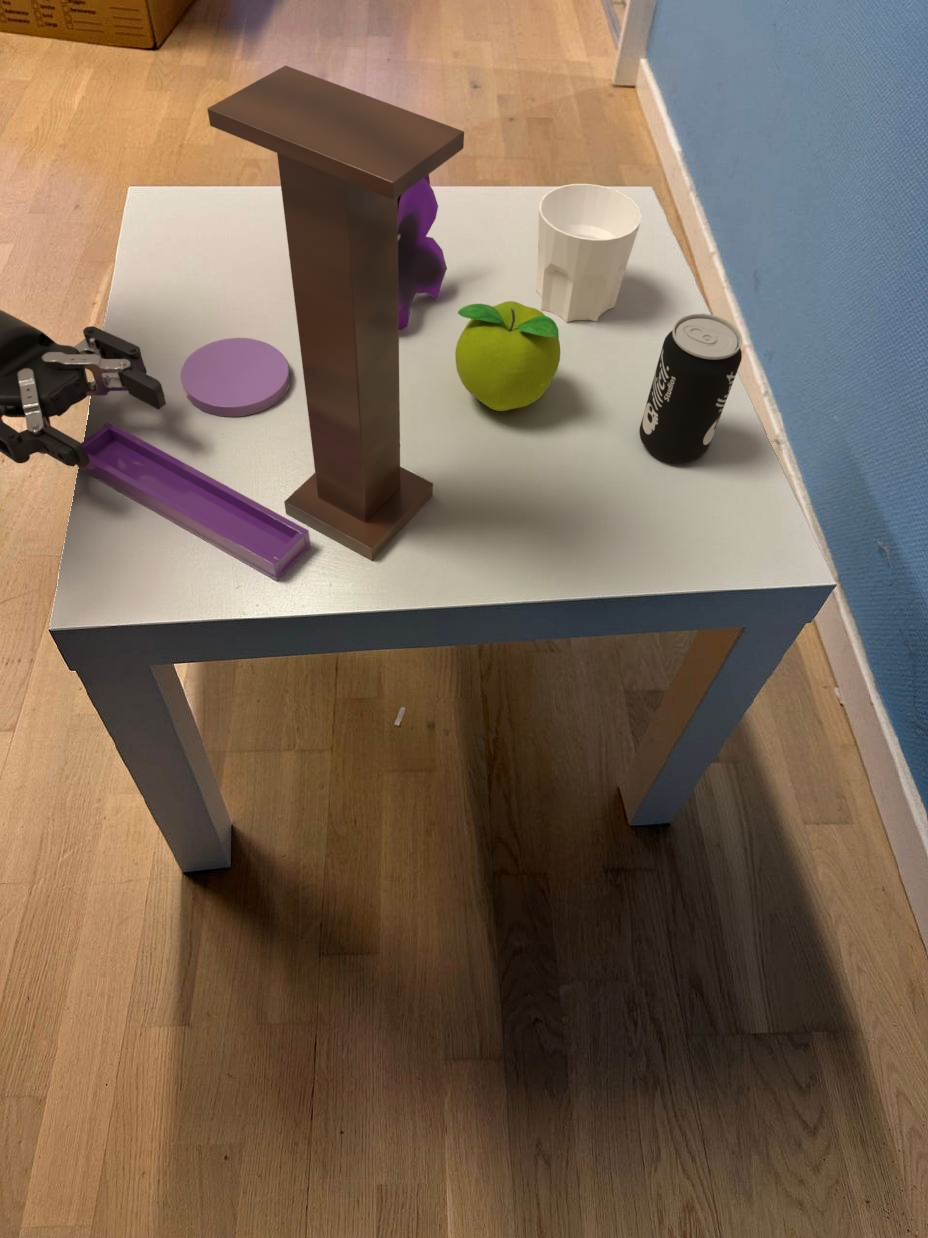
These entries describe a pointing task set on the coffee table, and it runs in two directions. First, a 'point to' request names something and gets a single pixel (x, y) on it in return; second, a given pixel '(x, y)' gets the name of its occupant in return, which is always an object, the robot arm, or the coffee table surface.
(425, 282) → the flower
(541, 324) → the fruit
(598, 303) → the cup
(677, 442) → the beverage can
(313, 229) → the brown wooden pedestal
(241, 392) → the lilac plate
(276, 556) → the purple dish
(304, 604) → the coffee table surface
